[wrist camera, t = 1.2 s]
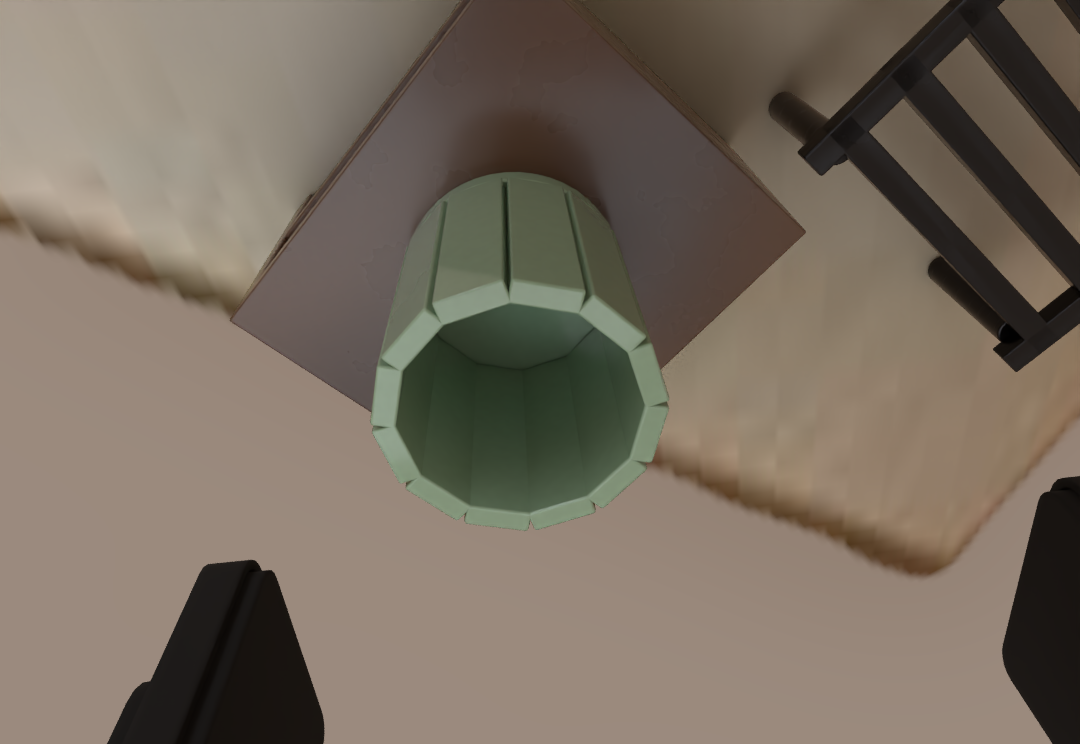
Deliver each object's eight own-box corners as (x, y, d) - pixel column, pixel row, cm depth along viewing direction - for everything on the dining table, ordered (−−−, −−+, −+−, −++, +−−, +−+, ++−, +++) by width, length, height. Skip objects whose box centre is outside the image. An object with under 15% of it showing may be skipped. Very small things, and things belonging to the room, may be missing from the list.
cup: (361, 289, 26) (314, 434, 19) (500, 122, 24) (501, 219, 17) (526, 405, 29) (535, 570, 22) (666, 264, 26) (726, 399, 19)
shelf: (294, 214, 35) (228, 321, 27) (507, -69, 30) (511, -51, 22) (511, 370, 40) (515, 506, 31) (729, 145, 35) (806, 232, 26)
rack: (748, 109, 34) (803, 158, 28) (1024, -179, 29) (1162, -196, 23) (935, 296, 39) (1016, 373, 33) (1198, 73, 34) (1350, 114, 28)
